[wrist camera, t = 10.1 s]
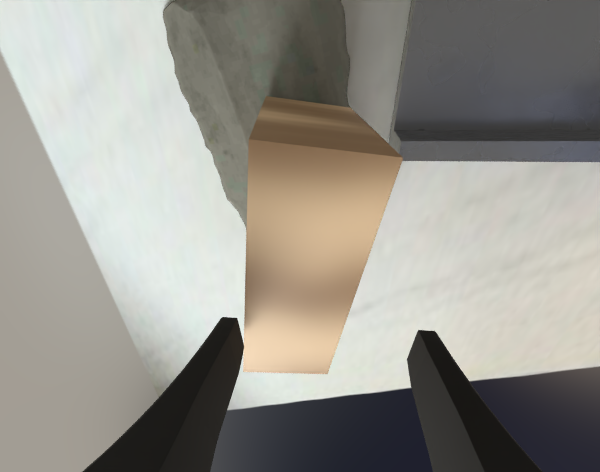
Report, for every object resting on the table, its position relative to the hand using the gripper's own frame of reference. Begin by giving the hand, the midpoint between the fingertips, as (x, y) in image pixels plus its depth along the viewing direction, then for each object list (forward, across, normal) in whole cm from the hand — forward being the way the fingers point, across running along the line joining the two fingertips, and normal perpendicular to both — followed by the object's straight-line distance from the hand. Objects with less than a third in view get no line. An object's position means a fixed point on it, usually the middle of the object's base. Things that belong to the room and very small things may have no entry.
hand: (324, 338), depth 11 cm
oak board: (+9, +2, -1) cm, 9 cm away
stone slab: (+12, +2, -2) cm, 12 cm away
